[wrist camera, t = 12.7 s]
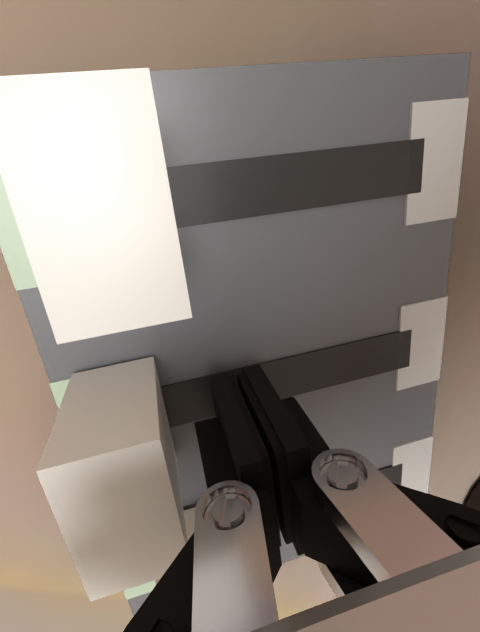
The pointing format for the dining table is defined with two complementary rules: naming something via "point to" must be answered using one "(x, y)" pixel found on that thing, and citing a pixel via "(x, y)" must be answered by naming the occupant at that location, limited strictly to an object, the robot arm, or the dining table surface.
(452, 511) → the robot arm
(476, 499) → the bottle
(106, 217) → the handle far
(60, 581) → the dining table surface
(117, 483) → the handle
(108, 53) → the dining table surface
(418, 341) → the breaker panel
